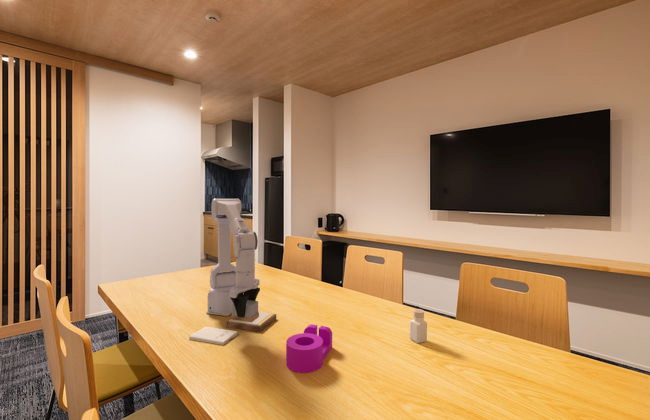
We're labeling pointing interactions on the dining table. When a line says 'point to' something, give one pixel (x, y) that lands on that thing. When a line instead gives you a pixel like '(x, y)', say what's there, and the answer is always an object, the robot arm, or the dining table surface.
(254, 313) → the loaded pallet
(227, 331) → the external hard drive
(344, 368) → the dining table surface
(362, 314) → the dining table surface
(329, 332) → the magenta clevis bracket
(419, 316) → the salt shaker
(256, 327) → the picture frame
